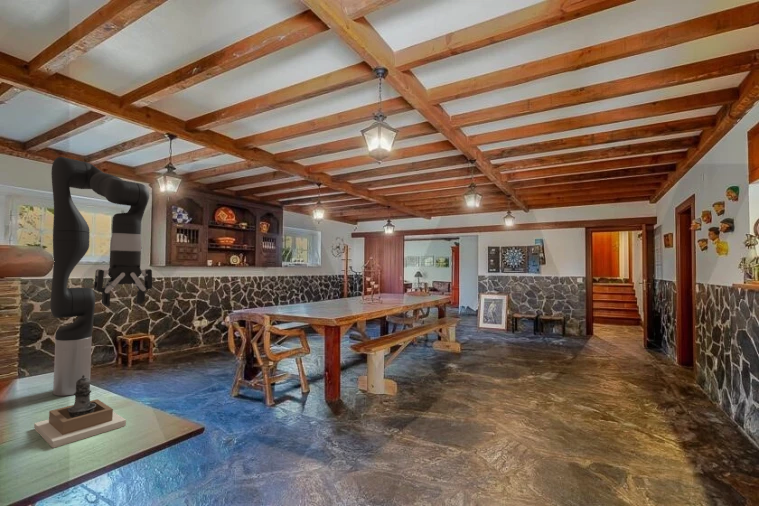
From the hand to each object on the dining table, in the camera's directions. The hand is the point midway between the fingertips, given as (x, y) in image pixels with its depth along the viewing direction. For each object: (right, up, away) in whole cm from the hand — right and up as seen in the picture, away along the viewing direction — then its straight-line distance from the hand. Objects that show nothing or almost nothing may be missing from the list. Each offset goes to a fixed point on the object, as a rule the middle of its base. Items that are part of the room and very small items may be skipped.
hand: (123, 304), depth 111 cm
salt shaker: (-2, -29, -13) cm, 31 cm away
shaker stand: (-3, -30, -13) cm, 33 cm away
